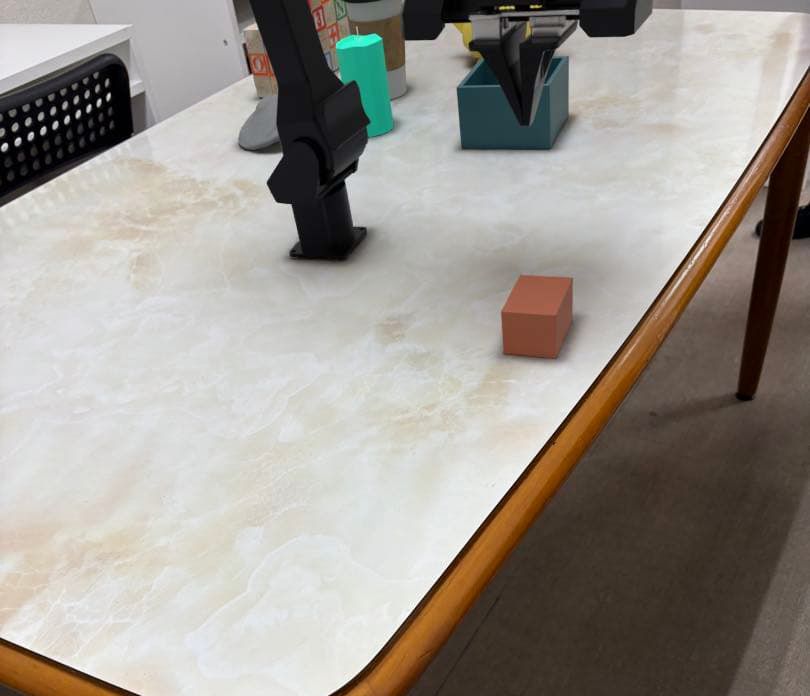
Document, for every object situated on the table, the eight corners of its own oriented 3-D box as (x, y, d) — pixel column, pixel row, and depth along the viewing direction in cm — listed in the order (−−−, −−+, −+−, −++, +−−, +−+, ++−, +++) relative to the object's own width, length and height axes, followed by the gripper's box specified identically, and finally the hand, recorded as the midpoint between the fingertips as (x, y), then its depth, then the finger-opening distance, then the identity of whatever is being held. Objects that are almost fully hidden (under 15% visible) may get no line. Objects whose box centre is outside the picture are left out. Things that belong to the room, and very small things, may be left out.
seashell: (321, 117, 119) (251, 111, 120) (316, 76, 114) (244, 71, 115) (299, 165, 112) (226, 158, 114) (294, 123, 108) (218, 117, 109)
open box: (549, 85, 96) (568, 55, 102) (456, 87, 99) (480, 58, 106) (550, 149, 101) (568, 117, 107) (461, 149, 104) (484, 118, 111)
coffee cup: (424, 93, 120) (411, -32, 110) (368, 108, 119) (350, -17, 108) (402, 79, 126) (388, -41, 116) (349, 93, 125) (329, -27, 114)
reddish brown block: (556, 358, 70) (556, 315, 67) (503, 354, 72) (500, 311, 69) (572, 319, 74) (572, 277, 71) (521, 316, 75) (520, 274, 73)
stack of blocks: (291, 100, 126) (271, 5, 117) (257, 99, 128) (235, 5, 120) (364, 52, 138) (350, -38, 130) (331, 52, 141) (316, -36, 132)
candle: (389, 135, 110) (374, 32, 102) (344, 138, 112) (327, 36, 103) (398, 118, 115) (385, 17, 106) (355, 121, 116) (339, 21, 108)
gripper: (679, -140, 62) (663, 91, 73) (444, -117, 69) (462, 89, 80) (637, -106, 55) (627, 143, 66) (383, -85, 63) (411, 136, 73)
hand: (526, 124), depth 72 cm, fingers closed
